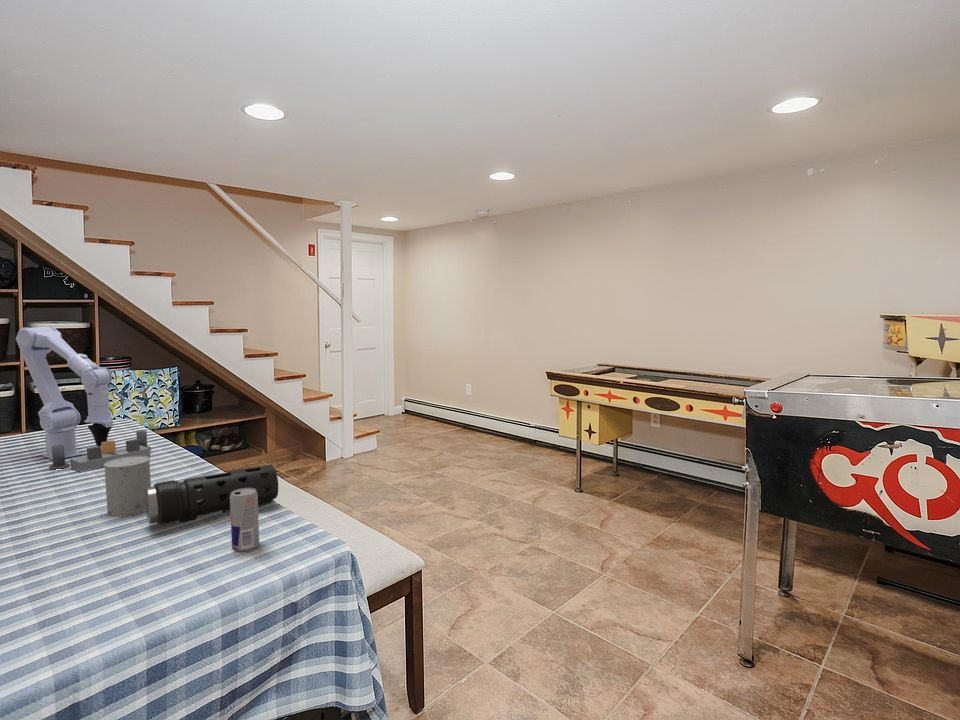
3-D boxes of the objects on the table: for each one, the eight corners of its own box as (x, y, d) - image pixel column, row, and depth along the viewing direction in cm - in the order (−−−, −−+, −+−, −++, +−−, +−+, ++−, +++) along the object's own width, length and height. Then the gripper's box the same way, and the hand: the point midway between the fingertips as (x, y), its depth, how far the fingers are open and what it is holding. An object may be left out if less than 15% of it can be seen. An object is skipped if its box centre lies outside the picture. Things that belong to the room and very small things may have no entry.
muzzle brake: (279, 507, 134) (278, 468, 133) (151, 536, 117) (148, 491, 116) (268, 496, 142) (267, 459, 141) (146, 522, 124) (143, 480, 123)
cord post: (131, 451, 184) (130, 432, 183) (146, 448, 188) (145, 429, 187) (138, 453, 181) (137, 433, 180) (153, 450, 185) (152, 431, 184)
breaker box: (71, 468, 164) (69, 448, 164) (140, 453, 181) (139, 435, 180) (80, 472, 161) (78, 451, 160) (150, 457, 177) (149, 438, 177)
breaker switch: (101, 452, 171) (101, 442, 170) (113, 450, 173) (112, 440, 173) (104, 453, 170) (103, 443, 169) (115, 451, 172) (115, 441, 172)
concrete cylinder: (103, 518, 126) (100, 469, 125) (110, 505, 134) (107, 458, 133) (150, 512, 130) (148, 463, 129) (154, 499, 139) (151, 454, 138)
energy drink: (237, 541, 115) (235, 487, 113) (262, 540, 115) (260, 487, 114) (227, 552, 109) (225, 496, 108) (254, 551, 110) (252, 495, 109)
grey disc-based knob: (46, 469, 164) (44, 447, 163) (65, 465, 168) (64, 443, 167) (52, 471, 161) (51, 449, 160) (72, 467, 165) (70, 446, 164)
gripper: (74, 404, 174) (77, 445, 175) (94, 409, 166) (96, 451, 167) (99, 401, 180) (102, 440, 181) (119, 406, 172) (121, 446, 173)
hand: (101, 445), depth 174 cm, fingers closed
